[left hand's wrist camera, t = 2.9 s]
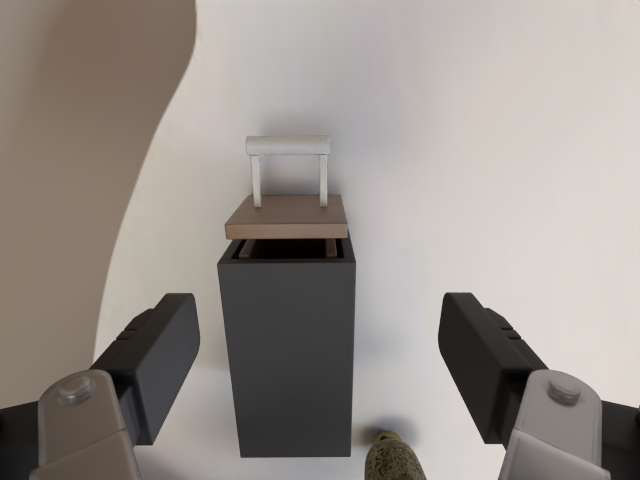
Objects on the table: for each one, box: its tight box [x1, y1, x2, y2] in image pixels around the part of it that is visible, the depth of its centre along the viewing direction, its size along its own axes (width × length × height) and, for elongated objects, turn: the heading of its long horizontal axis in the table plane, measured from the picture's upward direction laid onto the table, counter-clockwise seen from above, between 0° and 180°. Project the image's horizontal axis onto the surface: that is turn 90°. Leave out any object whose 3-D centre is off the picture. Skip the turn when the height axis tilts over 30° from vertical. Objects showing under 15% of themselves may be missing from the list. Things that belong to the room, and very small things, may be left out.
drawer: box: [225, 136, 347, 259], centre depth 32 cm, size 24×9×9 cm, turn 1°
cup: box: [365, 431, 427, 480], centre depth 42 cm, size 8×7×8 cm
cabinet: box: [217, 226, 356, 458], centre depth 34 cm, size 20×10×11 cm, turn 1°
